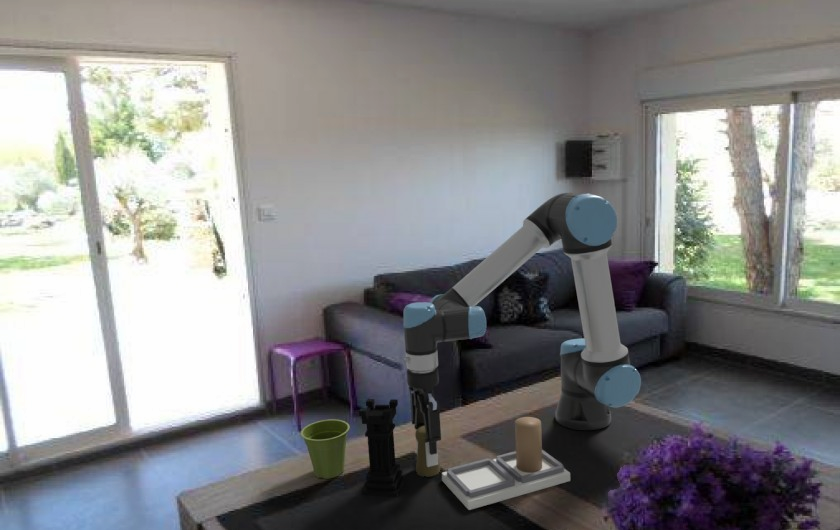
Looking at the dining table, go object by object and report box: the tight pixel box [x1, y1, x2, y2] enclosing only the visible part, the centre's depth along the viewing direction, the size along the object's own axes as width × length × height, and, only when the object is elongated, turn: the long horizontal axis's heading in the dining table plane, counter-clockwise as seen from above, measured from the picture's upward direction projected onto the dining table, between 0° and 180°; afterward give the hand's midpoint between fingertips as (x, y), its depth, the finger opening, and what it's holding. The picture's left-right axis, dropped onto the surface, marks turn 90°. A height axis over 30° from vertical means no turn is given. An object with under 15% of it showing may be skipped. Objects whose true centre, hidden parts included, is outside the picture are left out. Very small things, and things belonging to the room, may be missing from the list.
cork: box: [414, 426, 441, 478], centre depth 148 cm, size 6×6×11 cm
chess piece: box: [358, 398, 406, 497], centre depth 141 cm, size 8×8×20 cm
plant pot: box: [300, 418, 351, 480], centre depth 150 cm, size 12×12×11 cm
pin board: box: [441, 416, 571, 511], centre depth 141 cm, size 26×14×13 cm, turn 112°
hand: (427, 459), depth 149 cm, fingers closed on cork, 5 cm apart
